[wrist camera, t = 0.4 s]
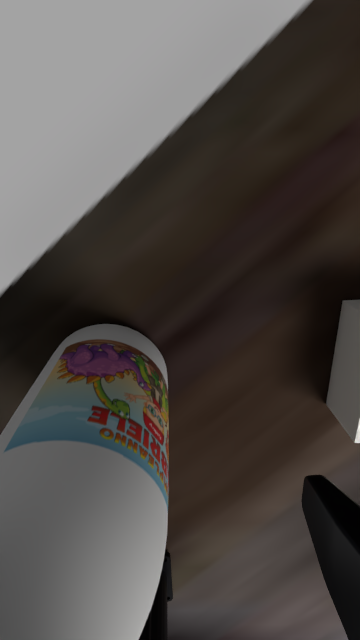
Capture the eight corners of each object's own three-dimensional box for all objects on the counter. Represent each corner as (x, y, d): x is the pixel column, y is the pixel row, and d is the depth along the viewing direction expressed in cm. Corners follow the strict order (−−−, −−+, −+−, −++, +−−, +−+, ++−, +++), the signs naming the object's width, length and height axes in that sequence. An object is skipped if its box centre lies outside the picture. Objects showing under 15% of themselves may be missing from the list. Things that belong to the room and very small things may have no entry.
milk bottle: (117, 436, 25) (-20, 1166, 6) (29, 374, 23) (-571, 1223, 4) (190, 369, 23) (297, 1128, 5) (103, 295, 21) (-390, 1198, 2)
